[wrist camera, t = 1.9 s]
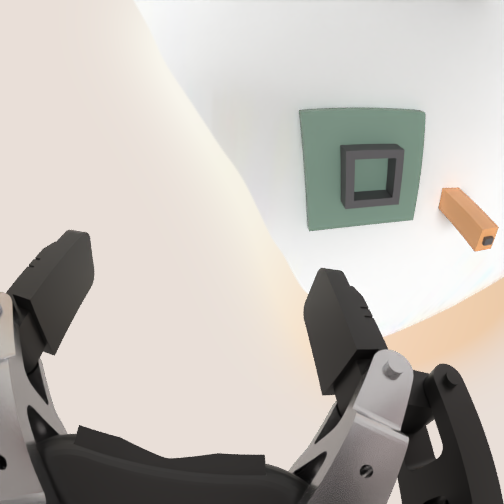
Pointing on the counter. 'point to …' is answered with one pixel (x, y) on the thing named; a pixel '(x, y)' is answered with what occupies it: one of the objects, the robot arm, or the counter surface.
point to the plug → (468, 218)
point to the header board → (361, 165)
